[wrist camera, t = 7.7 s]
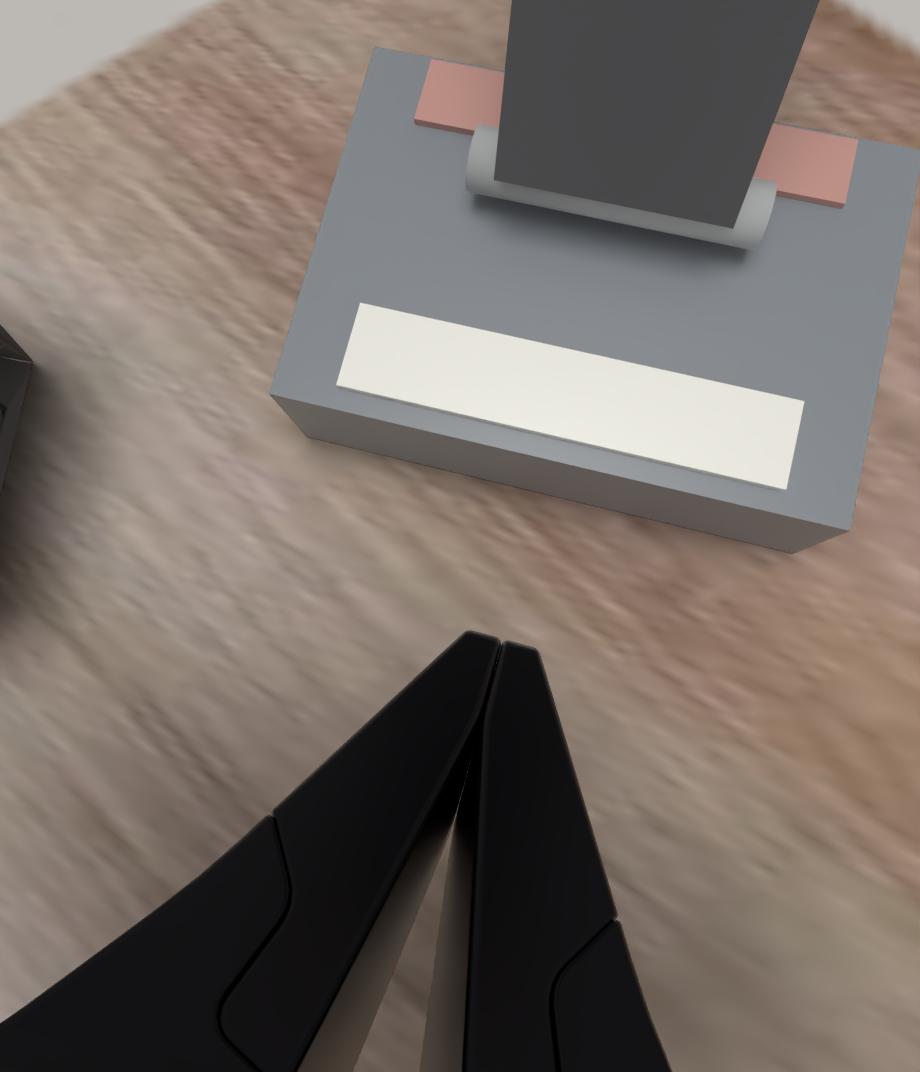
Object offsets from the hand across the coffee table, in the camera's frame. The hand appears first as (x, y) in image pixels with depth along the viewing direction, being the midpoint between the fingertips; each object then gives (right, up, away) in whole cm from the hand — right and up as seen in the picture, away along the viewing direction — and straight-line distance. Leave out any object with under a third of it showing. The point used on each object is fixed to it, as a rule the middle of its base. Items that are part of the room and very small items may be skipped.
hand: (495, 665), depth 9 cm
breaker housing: (+3, +7, +13) cm, 15 cm away
